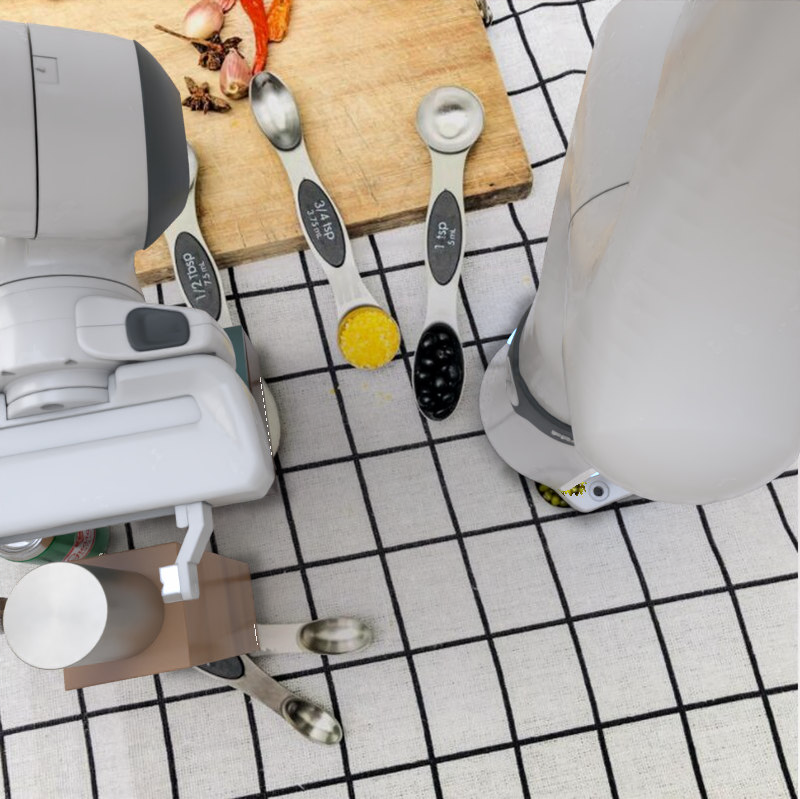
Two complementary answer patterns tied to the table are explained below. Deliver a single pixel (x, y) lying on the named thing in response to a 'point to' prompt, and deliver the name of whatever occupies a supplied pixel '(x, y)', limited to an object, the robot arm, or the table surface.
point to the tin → (81, 615)
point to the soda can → (58, 547)
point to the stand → (181, 617)
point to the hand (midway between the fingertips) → (88, 618)
